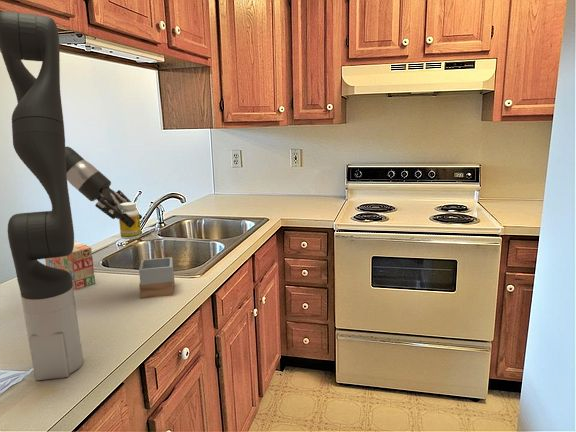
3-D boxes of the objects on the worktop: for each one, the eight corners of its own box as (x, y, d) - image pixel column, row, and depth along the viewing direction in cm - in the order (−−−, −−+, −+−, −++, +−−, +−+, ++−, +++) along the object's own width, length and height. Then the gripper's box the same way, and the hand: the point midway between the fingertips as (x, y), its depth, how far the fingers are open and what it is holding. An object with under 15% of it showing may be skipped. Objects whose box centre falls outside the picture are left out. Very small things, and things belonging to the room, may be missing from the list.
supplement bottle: (120, 235, 123) (116, 202, 120) (139, 233, 125) (136, 200, 123) (122, 240, 118) (118, 206, 116) (142, 238, 120) (139, 204, 118)
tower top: (173, 281, 125) (172, 267, 124) (140, 285, 123) (139, 270, 122) (173, 270, 134) (172, 257, 133) (142, 273, 131) (141, 259, 130)
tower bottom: (173, 296, 126) (172, 282, 125) (140, 299, 124) (139, 284, 123) (174, 284, 134) (173, 271, 133) (144, 287, 133) (143, 273, 132)
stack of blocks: (46, 274, 144) (41, 239, 141) (66, 269, 149) (61, 234, 146) (76, 290, 131) (70, 251, 128) (96, 284, 135) (91, 246, 132)
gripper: (85, 174, 110) (137, 219, 113) (107, 167, 124) (152, 207, 127) (67, 195, 111) (118, 239, 114) (90, 185, 125) (136, 225, 128)
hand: (136, 222), depth 120 cm, fingers closed on supplement bottle, 5 cm apart
